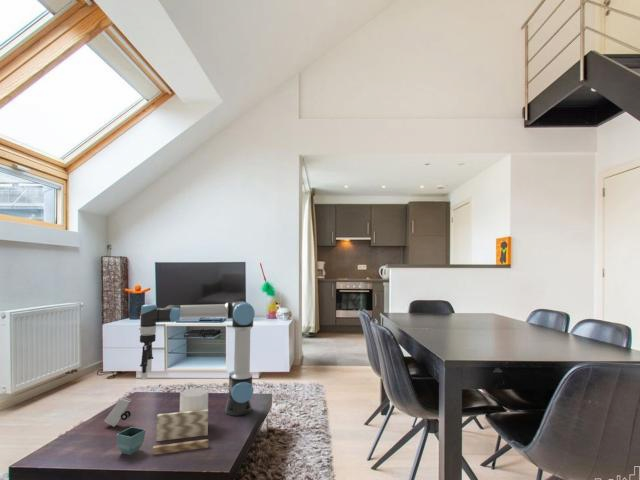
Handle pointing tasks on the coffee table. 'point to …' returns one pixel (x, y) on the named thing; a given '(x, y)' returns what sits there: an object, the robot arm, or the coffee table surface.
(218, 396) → the coffee table surface
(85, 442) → the coffee table surface
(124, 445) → the flower pot
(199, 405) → the container
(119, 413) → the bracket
